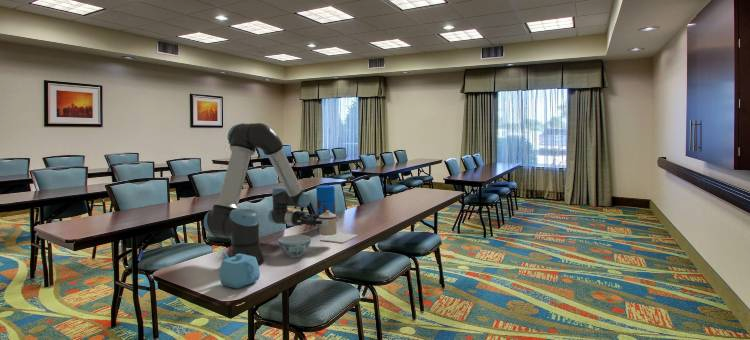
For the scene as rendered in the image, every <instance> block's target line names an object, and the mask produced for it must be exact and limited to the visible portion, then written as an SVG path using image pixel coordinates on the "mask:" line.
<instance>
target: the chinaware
mask: <svg viewBox="0 0 750 340" xmlns="http://www.w3.org/2000/svg"><path fill="white" fill-rule="evenodd" d="M277 241H278V245H279V247H280V249H281V251H282V252H283V253H285V254H286V255H287V256H288V257H289V258H300V257H302V256H304V253H305V252H306V251H307V250H308V249H309V247H310V245H311V242H312V237H311V236H309V235H305V234H292V235H286V236H282V237H280V238H278V240H277Z"/></svg>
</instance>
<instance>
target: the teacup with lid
mask: <svg viewBox="0 0 750 340" xmlns="http://www.w3.org/2000/svg"><path fill="white" fill-rule="evenodd" d="M337 217H338V216H337V214H336V213H335V214H332V213H330V211H329V210H327V211H326V213H323V214H322V215H319V218H318V219H322V220H328V223H329V226H325V225H316V226H315V227H317V229H318V228H319V229H318V230H319V235H321V236H330V235H334V234H336V233H338V232H337V223H338V222H336V218H337Z"/></svg>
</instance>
